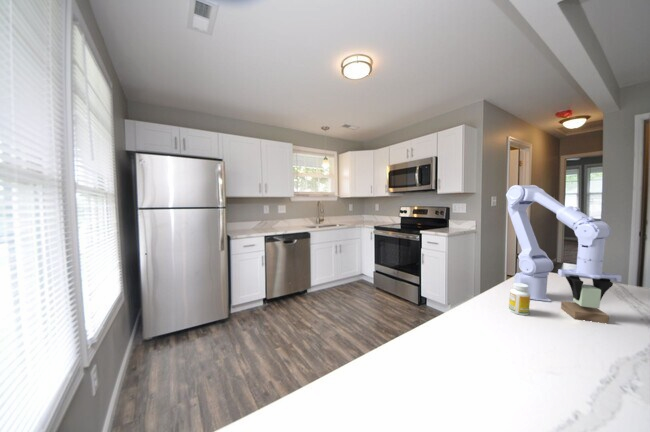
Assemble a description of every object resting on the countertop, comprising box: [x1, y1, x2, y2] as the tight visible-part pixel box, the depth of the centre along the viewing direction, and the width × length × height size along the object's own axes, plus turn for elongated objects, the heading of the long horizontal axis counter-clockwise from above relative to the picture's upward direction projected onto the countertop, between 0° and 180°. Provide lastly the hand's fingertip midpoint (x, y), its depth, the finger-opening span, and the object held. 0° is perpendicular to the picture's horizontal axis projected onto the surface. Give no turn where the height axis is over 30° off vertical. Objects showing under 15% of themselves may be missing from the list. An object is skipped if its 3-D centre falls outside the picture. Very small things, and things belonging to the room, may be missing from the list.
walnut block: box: [560, 300, 610, 325], centre depth 80 cm, size 8×8×3 cm
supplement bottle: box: [508, 282, 531, 316], centre depth 83 cm, size 5×5×10 cm
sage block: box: [572, 283, 601, 309], centre depth 79 cm, size 4×4×6 cm
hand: (586, 299), depth 79 cm, fingers closed on sage block, 4 cm apart
